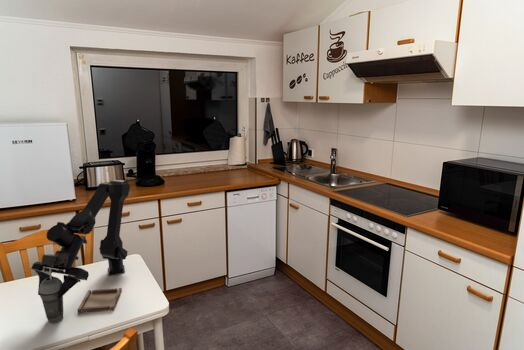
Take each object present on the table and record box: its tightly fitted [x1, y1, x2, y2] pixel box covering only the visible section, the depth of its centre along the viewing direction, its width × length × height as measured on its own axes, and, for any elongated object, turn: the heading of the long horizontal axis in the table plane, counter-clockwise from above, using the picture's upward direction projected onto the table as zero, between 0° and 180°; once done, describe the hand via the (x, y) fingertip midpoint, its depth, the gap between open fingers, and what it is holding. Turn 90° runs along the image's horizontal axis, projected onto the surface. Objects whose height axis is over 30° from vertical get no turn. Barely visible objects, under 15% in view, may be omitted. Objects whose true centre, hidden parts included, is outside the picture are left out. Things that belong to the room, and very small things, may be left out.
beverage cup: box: [38, 267, 64, 325], centre depth 119 cm, size 7×7×20 cm
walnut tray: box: [77, 287, 123, 314], centre depth 131 cm, size 12×12×2 cm
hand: (48, 296), depth 118 cm, fingers closed on beverage cup, 7 cm apart
